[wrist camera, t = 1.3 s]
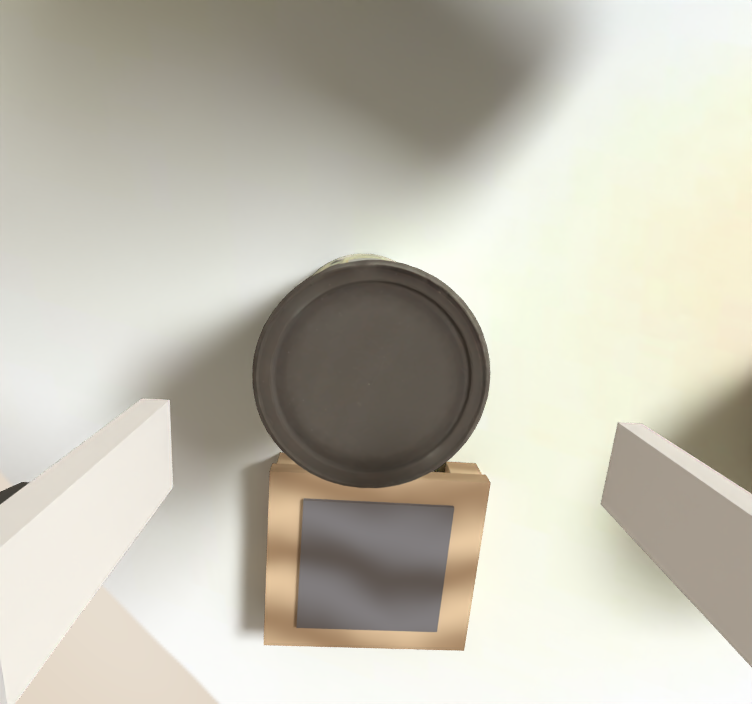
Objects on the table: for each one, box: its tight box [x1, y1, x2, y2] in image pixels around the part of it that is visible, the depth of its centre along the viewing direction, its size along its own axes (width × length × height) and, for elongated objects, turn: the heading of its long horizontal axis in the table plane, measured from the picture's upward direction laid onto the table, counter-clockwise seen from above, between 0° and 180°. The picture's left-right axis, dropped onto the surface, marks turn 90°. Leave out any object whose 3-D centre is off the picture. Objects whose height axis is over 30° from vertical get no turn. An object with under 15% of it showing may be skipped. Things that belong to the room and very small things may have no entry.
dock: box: [264, 452, 490, 651], centre depth 36 cm, size 15×16×3 cm
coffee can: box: [252, 254, 490, 488], centre depth 26 cm, size 10×10×14 cm
